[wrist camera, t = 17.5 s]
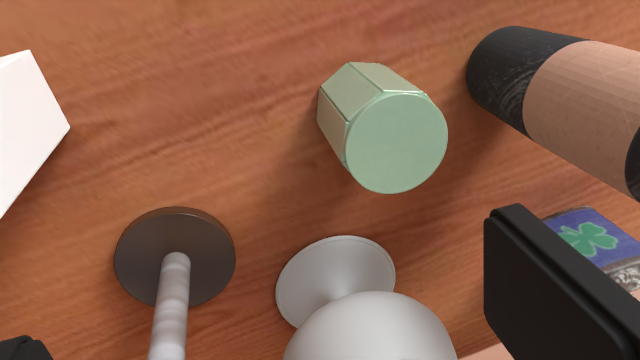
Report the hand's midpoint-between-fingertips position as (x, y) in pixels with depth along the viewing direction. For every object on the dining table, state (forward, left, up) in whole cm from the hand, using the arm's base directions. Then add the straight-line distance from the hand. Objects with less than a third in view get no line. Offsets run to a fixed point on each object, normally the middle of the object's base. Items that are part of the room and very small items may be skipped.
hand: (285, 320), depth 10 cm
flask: (+24, +28, -28) cm, 47 cm away
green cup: (+6, +9, -28) cm, 30 cm away
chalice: (+24, +4, -28) cm, 38 cm away
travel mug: (+6, +22, -28) cm, 36 cm away
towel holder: (+16, -9, -28) cm, 34 cm away
